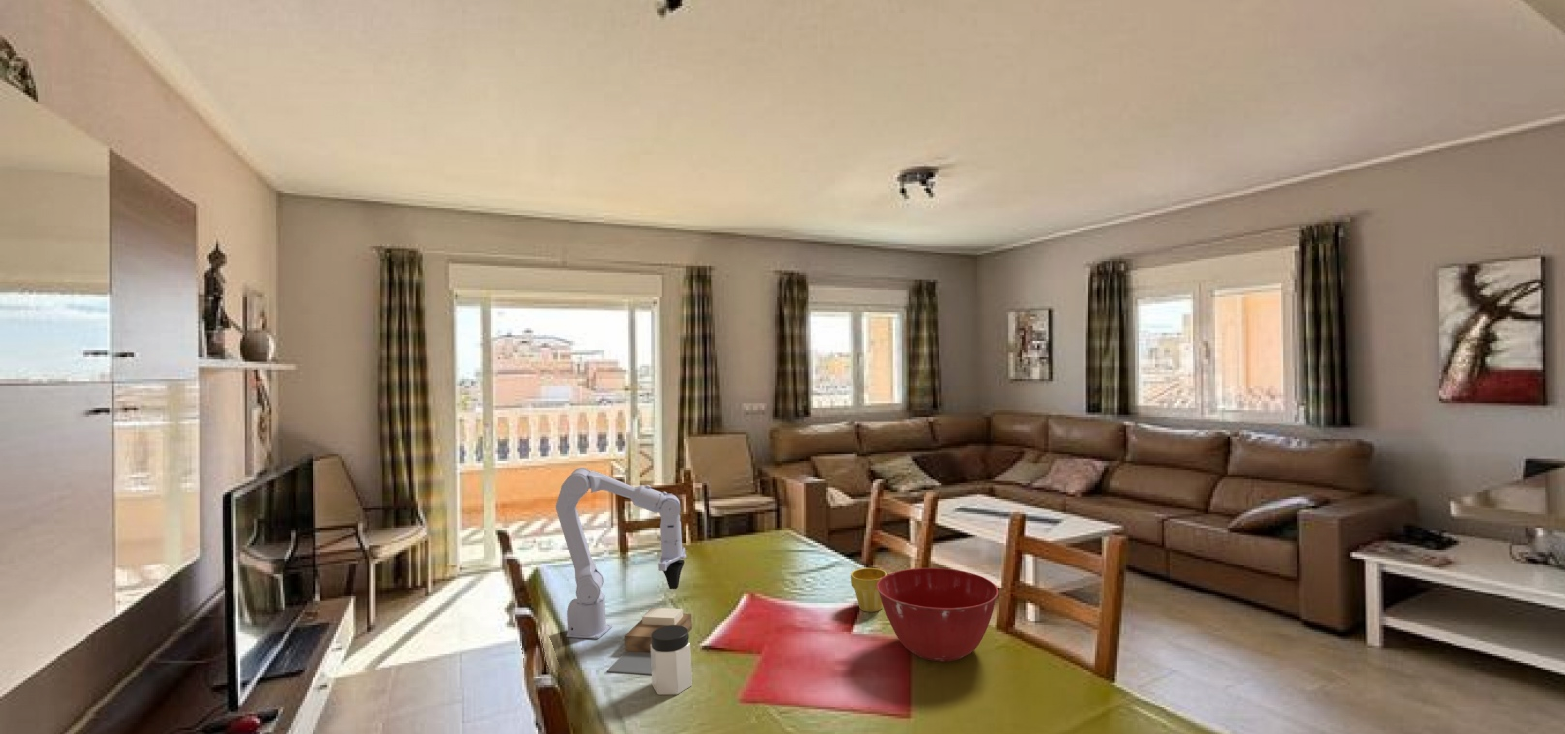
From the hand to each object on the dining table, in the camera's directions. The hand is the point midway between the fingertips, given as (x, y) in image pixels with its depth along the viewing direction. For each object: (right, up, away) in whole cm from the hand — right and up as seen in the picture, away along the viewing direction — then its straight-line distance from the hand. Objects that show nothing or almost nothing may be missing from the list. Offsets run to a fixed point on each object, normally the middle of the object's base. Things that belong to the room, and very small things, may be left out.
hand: (673, 588), depth 176 cm
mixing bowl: (+68, -7, -22) cm, 72 cm away
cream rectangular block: (-1, -6, -8) cm, 10 cm away
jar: (+6, -10, -34) cm, 36 cm away
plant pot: (+55, -7, +5) cm, 56 cm away
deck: (-2, -10, -10) cm, 14 cm away
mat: (-4, -10, -23) cm, 25 cm away
